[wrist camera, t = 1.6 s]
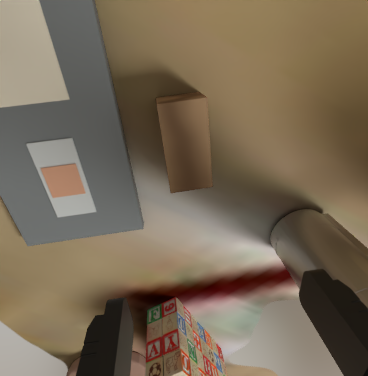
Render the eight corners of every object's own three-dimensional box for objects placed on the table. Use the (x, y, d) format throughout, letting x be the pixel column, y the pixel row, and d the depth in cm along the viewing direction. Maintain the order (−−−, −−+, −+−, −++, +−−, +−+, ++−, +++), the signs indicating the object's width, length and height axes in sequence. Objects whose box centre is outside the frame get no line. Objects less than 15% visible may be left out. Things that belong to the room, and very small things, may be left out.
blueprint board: (49, -206, 17) (38, -234, 16) (143, 222, 35) (143, 230, 34) (-192, -194, 16) (-230, -222, 15) (32, 239, 34) (26, 247, 33)
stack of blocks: (221, 347, 54) (239, 419, 43) (197, 357, 55) (208, 431, 44) (175, 295, 44) (182, 372, 33) (146, 309, 45) (143, 388, 34)
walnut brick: (198, 91, 28) (207, 97, 23) (204, 169, 33) (212, 186, 28) (156, 97, 28) (156, 104, 23) (168, 175, 32) (170, 193, 28)
